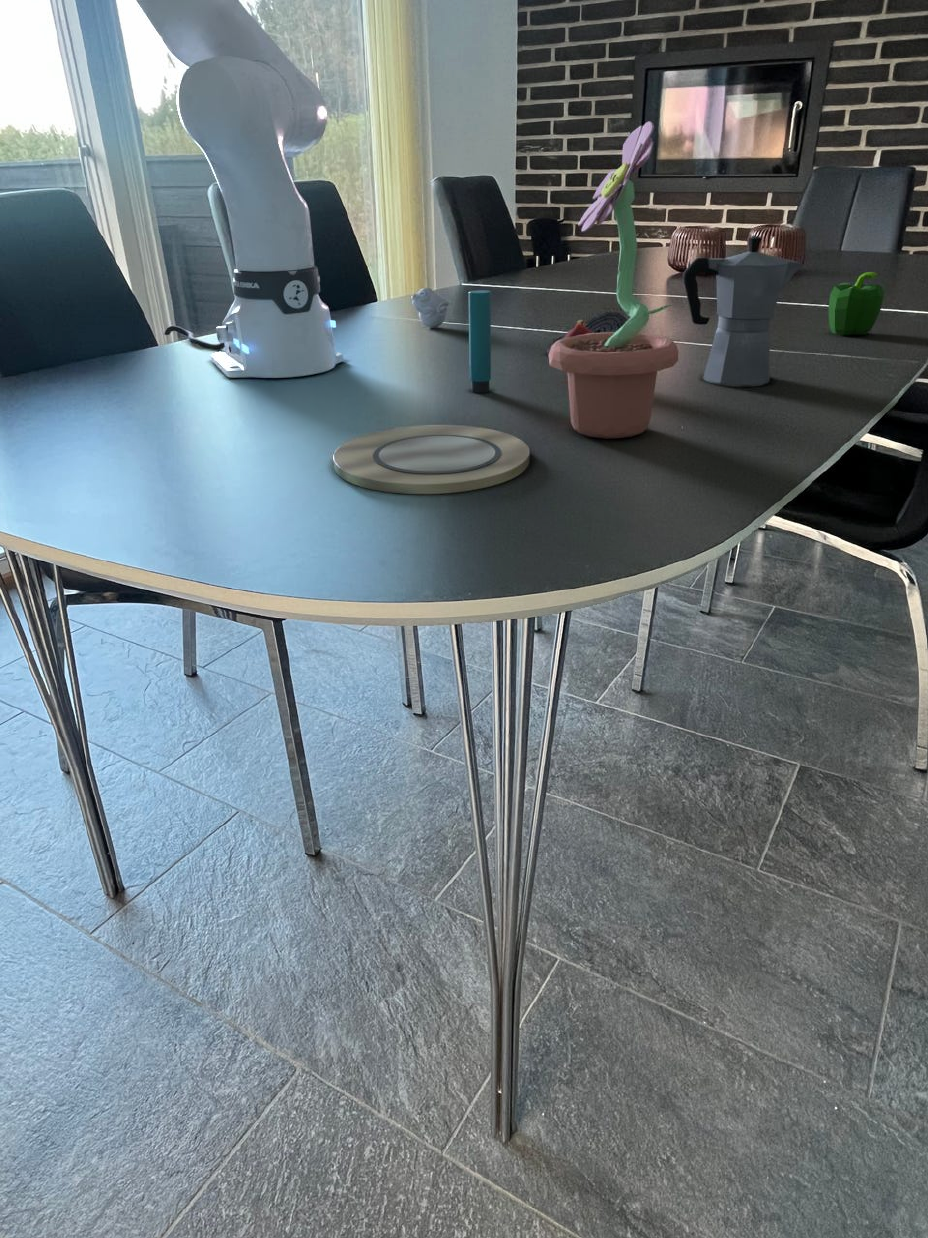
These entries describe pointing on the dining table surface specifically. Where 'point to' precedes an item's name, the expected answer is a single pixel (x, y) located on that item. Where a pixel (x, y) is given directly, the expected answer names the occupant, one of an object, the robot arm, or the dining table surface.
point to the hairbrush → (600, 324)
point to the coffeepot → (740, 312)
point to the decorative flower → (623, 360)
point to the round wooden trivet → (431, 459)
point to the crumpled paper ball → (430, 307)
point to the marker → (480, 340)
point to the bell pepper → (855, 306)
